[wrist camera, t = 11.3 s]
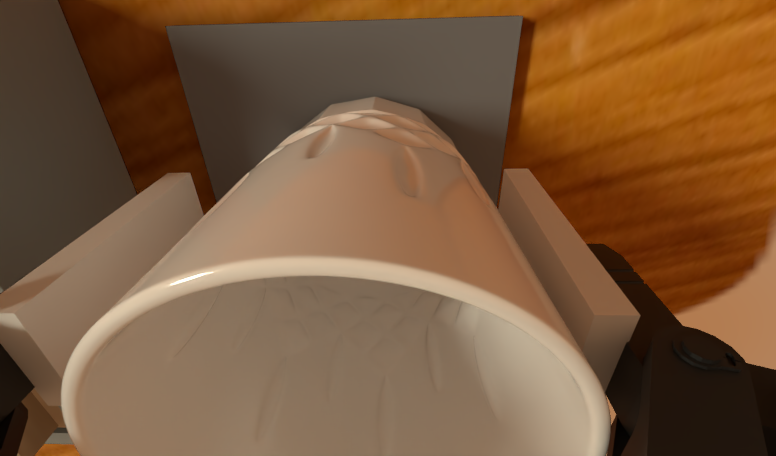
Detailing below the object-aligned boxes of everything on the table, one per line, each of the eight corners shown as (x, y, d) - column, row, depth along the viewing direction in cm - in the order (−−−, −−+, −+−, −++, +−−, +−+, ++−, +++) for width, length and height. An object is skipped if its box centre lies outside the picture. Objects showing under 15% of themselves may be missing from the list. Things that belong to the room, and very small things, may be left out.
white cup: (501, 235, 15) (635, 535, 7) (329, 291, 17) (262, 587, 8) (437, 34, 12) (557, 137, 3) (225, 132, 13) (-85, 376, 5)
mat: (247, 289, 18) (243, 296, 17) (173, 25, 12) (165, 26, 12) (482, 289, 17) (484, 296, 17) (518, 15, 12) (523, 16, 11)
